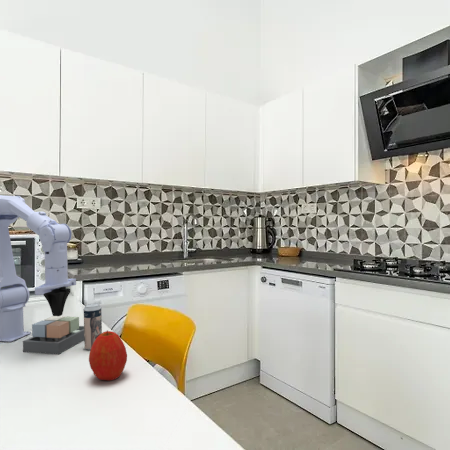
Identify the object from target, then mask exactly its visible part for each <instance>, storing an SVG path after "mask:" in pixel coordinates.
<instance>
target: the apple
mask: <svg viewBox="0 0 450 450" xmlns="http://www.w3.org/2000/svg"><path fill="white" fill-rule="evenodd" d="M127 361H128V354H127V350H126V346H125V343H124V342H123V339H122V338H121V337H120V336H119V334H117V333H116V332H114V331H111V330H110V331H109V330H106V331H102V333H101V334H100V335H99V336H98V337H97V338H96V340H95V341H94V343H93V345H92V348H91V350H89V355H88V362H89V367H90V369H91V371H92V372H93V374H94V376H95V377H96V378H97V379H98V380H102V381H113V380H117V378H119V377H120V376H121V375H122V373H123V372H124V369H125V367H126V364H127Z"/></svg>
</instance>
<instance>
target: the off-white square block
mask: <svg viewBox="0 0 450 450" xmlns="http://www.w3.org/2000/svg"><path fill="white" fill-rule="evenodd" d="M65 317H66V316H64V315H61V316H53V315H52V316H50V317H48V318H45V319H43V320H44V321H54V322H55V321H58V320H60V319H62V318H65Z"/></svg>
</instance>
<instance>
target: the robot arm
mask: <svg viewBox="0 0 450 450" xmlns="http://www.w3.org/2000/svg"><path fill="white" fill-rule="evenodd" d="M19 218H20V219H22V220H23V221H25V222H26V227H27V228H28V229H29V230H31V231H32V232H33V233H35V234H36V235H37V236H38V239H39V241H40V243H41V247H42V248H41V250H42V251H43V252H44V282H45V283H43V284H41V285H39V286H36V287H34V295H35V296H43V297H44V298H45V299H46V301H47V302H48V305H49V308H50V310H51V314H52V316H63V313H64V309H65V306H66V305H65V304H66V302H67V299H68V296H69V295H70V293H71V288H67V287H72V286H76V285H77V278H69V275H68V274H69V273H68V272H69V270H68V269H69V268H68V243H70V242H71V239H72V235H73V233H72V229H71V227H70V226H69V225H68V224H67V223H59V222H57V221H56V220H55V219H53V218H51V217H50V216H49V215H48V214H47V213H46V212H45V211H35V210H34V209H32V207H30V206H29V205H28V204H27V203H26V200H25V198H23V197H21V195H1V194H0V342H5V343H6V342H7V343H8V342H9V343H10V342H14V341H16V340H18V339H21V338H23V337H26V336H28V335H30V334H32V332H31V331H25V327H24V308H25V307H26V305H27V303H28V302H29V300H30V297H31V296H30V290H29V288H28V287H27V283H26V280H25V279H24V278H22V277H20V276H18V275H17V270H16V264H15V259H14V254H13V247H12V241H11V235H10V231H9V230H10V229H9V227H10V225H11V224H13V223H15V222H16V221H17V220H18V219H19Z"/></svg>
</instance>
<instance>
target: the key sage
mask: <svg viewBox="0 0 450 450" xmlns="http://www.w3.org/2000/svg"><path fill="white" fill-rule="evenodd" d="M58 321H65V322H69V333H71V332H73V331H75V330H77V329H79V326H80V316H65V318H62V319H60V320H58Z"/></svg>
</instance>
